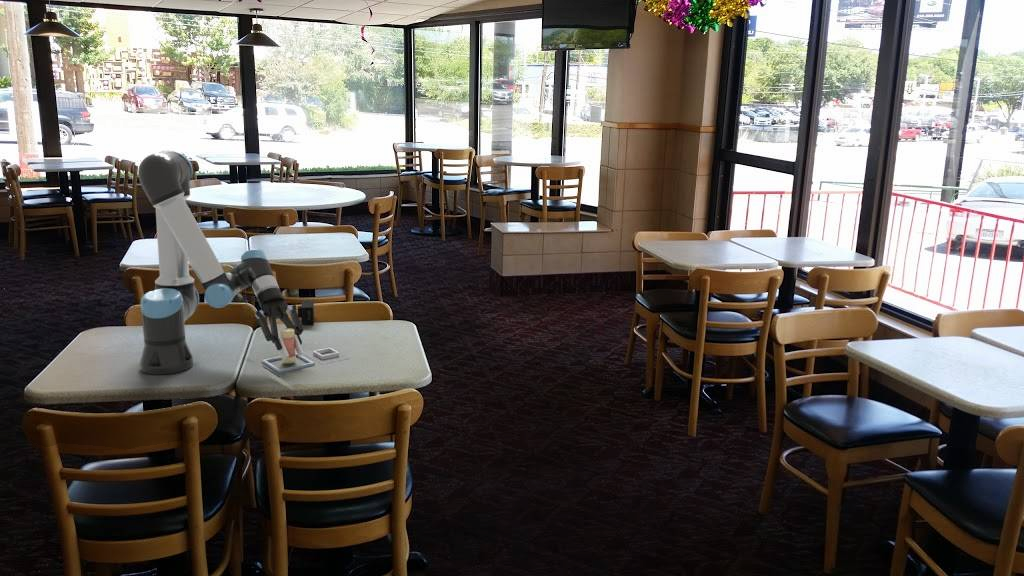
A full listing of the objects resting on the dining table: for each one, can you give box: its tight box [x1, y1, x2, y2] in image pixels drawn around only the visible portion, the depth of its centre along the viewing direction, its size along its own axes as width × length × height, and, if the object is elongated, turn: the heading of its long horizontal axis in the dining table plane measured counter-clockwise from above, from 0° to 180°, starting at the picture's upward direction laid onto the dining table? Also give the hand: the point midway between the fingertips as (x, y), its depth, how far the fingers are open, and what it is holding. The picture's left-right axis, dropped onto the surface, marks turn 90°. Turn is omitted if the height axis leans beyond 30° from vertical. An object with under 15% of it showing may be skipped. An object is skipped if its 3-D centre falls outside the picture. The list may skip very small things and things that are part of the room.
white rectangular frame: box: [302, 346, 351, 365], centre depth 254 cm, size 10×14×3 cm
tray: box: [261, 352, 315, 378], centre depth 246 cm, size 12×12×2 cm
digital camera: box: [297, 299, 315, 326], centre depth 294 cm, size 10×5×7 cm, turn 12°
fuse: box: [279, 327, 297, 364], centre depth 244 cm, size 4×4×10 cm
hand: (293, 356), depth 242 cm, fingers closed on fuse, 4 cm apart
